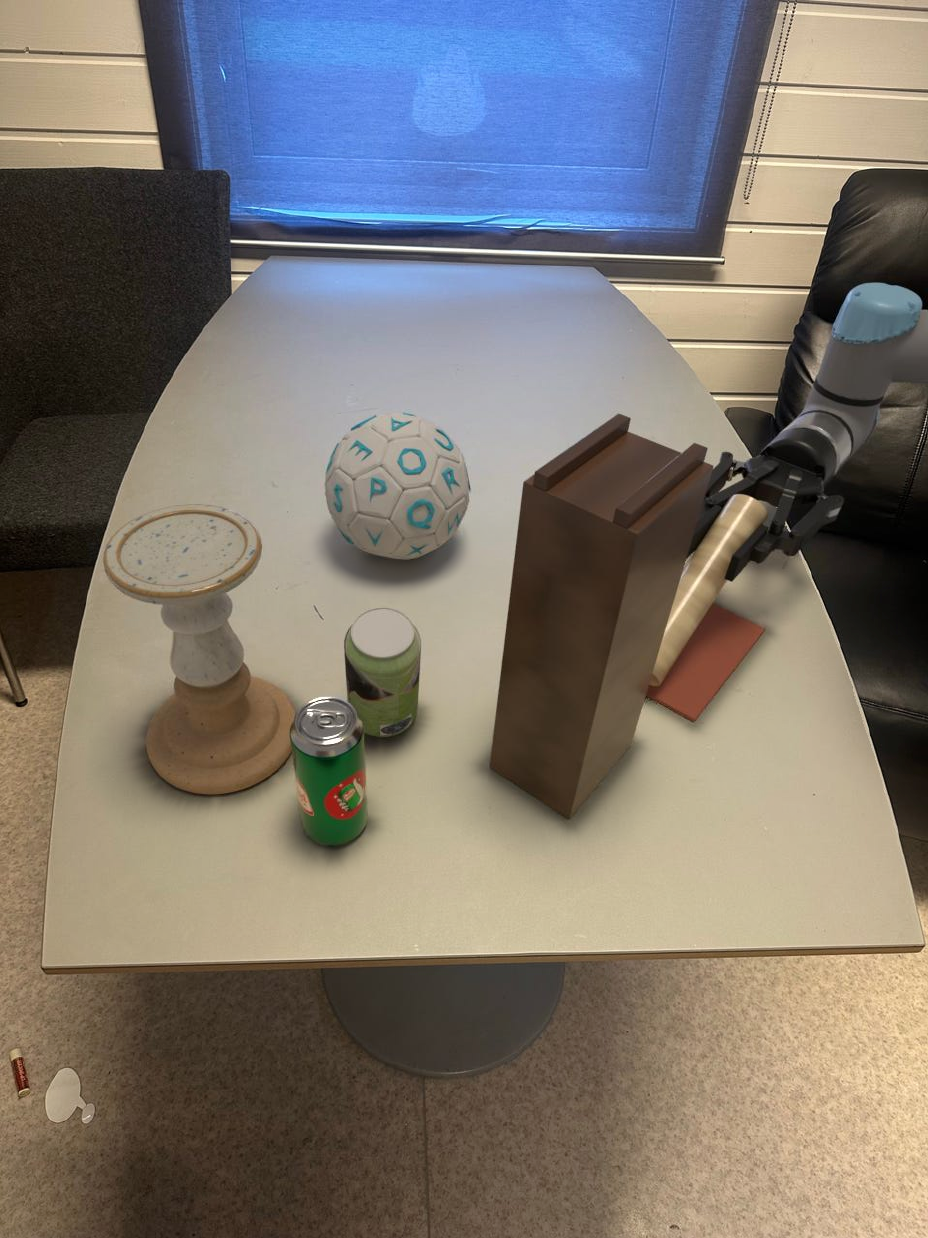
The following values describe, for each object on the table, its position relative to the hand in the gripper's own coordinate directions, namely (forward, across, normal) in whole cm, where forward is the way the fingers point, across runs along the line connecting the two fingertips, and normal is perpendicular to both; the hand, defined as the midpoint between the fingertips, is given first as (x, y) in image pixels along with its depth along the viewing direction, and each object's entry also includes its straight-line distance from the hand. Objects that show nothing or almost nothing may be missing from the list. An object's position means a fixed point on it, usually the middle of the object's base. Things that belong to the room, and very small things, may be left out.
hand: (708, 557), depth 76 cm
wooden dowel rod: (0, 0, -5) cm, 5 cm away
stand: (+21, +1, -10) cm, 23 cm away
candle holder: (+38, +24, -10) cm, 46 cm away
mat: (+2, 0, -10) cm, 10 cm away
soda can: (+38, +11, -10) cm, 41 cm away
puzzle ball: (+8, +31, -10) cm, 34 cm away
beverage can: (+28, +15, -10) cm, 33 cm away
